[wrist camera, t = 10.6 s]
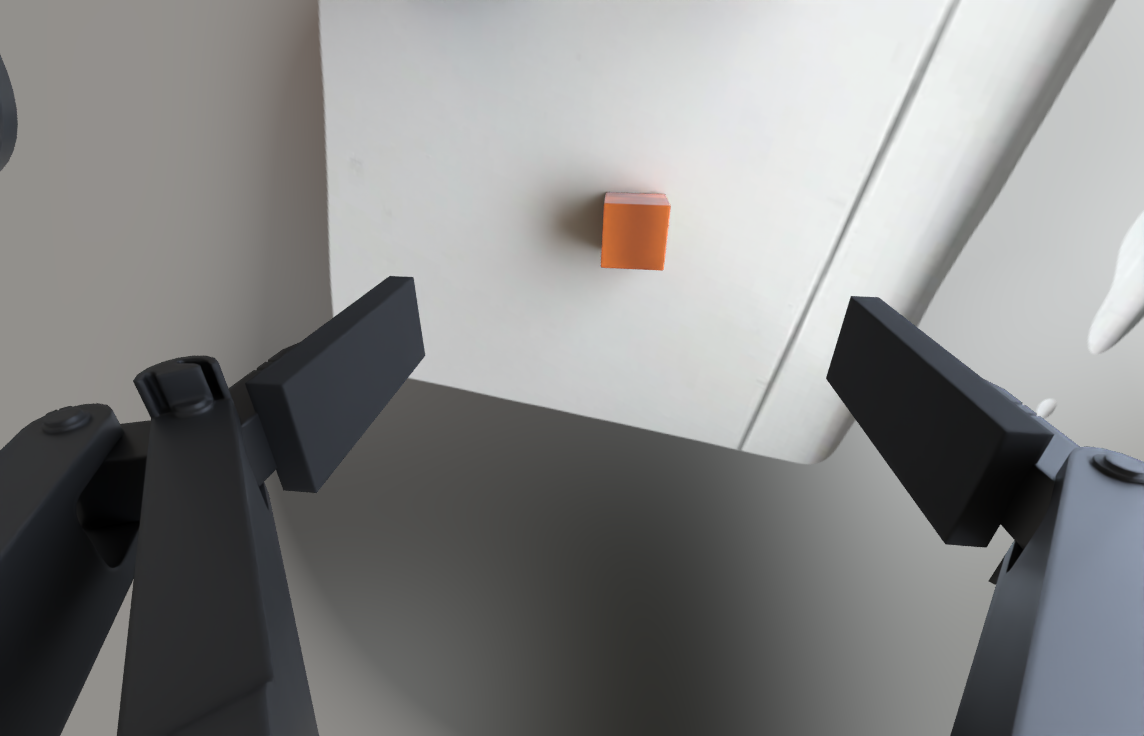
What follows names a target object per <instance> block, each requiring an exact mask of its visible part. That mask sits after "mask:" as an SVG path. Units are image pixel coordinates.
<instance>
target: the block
mask: <svg viewBox="0 0 1144 736" xmlns="http://www.w3.org/2000/svg"><path fill="white" fill-rule="evenodd" d="M670 209H671V206H670V203H669V201H668V199H667V197H666V195H665V194H642V193H614V192H606V195H605V200H604V208H603V229H602V250H601V267H602V268H622V269H643V270H664V262H665V253H666V244H667V235H668V226H669V217H670Z"/></svg>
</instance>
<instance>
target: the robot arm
mask: <svg viewBox="0 0 1144 736" xmlns="http://www.w3.org/2000/svg"><path fill="white" fill-rule="evenodd" d="M424 356H425V351H424V345H423V338H422V332H421V325H420V318H419V312H418V305H417V298H416V292H415V285H414V278H413V277H398V276H389V277H388V278H386V279H385V280H384V281H382V282H381V283H380V284H378V285H377V286H376V287H374V288H373V289H372V290H370V291H369V292H368V293H366V294H365V295H363V296H362V297H361V298H359V299H358V300H357V301H355V302H354V303H353V304H351V305H350V306H349V307H347V308H346V309H344V310H343V311H342V312H340V313H339V314H338V315H336V316H335V317H334V318H332V319H331V320H330V321H328V322H327V323H326V324H324V325H323V326H321V327H320V328H319V329H318V330H316V331H315V332H313V333H312V334H311V335H309V336H308V337H307V338H305V339H304V340H303V341H301V342H300V343H297V344H295V345H292V346H290V347H288V348H286V349H283V350H281V351H280V352H278V353H277V354H276V355H274V356H273V357H271V358H270V359H269V360H268V362H265V363H263V364H262V365H260V366H259V367H258V368H257V370H254V371H252V372H251V373H249V374H248V375H247V376H245V377H244V378H242V379H241V380H240V381H238V382H237V383H235V384H234V385H233V386H231V387H230V388H229V389H228V386H227V384H226V381H225V378H224V376H223V373H222V371H221V368H220V365H219V363H218V361H217V360H216V359H215V358H213V357H209V356H188V357H181V358H176V359H172V360H168V361H165V362H161V363H159V364H156V365H154V366H151V367H149V368H147V369H146V370H144V371H142V372H141V373H139V374H138V375H137V376H136V377H135V379H134V380H133V382H134V384H135V386H136V388H137V390H138V392H139V394H140V396H141V398H142V400H143V402H144V404H145V406H146V408H147V410H148V412H149V415H150V417H151V421H142V422H133V423H125V424H120V423H119V421H118V420H117V418H116V416H115V414H114V412H113V410H112V409H111V408H110V407H109V406H108V405H103V404H98V403H97V404H84V405H79V406H74V407H72V406H68V407H64V408H61V409H59V410H55V411H52V412H49V413H47V414H46V415H45V416H43V417H41V418H39V419H37V420H35V421H33V422H31V423H30V424H29V425H27V426H26V427H25V428H23V429H22V430H21V431H20V432H19V433H18V434H17V435H16V436H15V437H14V438H13V439H12V440H11V441H10V442H9V443H8V444H7V445H6V446H5V447H4V448H2V449H1V450H0V736H60V735H61V733H62V731H63V728H64V726H65V724H66V722H67V720H68V718H69V716H70V713H71V711H72V709H73V707H74V705H75V703H76V701H77V698H78V696H79V694H80V692H81V690H82V688H83V686H84V684H85V681H86V679H87V677H88V675H89V673H90V671H91V669H92V666H93V664H94V662H95V660H96V658H97V656H98V654H99V651H100V649H101V647H102V645H103V643H104V641H105V638H106V637H107V634H108V632H109V630H110V628H111V626H112V624H113V622H114V619H115V617H116V615H117V613H118V611H119V609H120V607H121V605H122V602H123V600H124V598H125V596H126V594H127V592H128V589H129V587H130V585H131V583H132V581H133V579H134V582H133V591H132V600H131V609H130V619H129V628H128V637H127V646H126V656H125V665H124V674H123V684H122V693H121V702H120V711H119V720H118V729H117V736H319V734H318V729H317V724H316V720H315V715H314V709H313V705H312V700H311V695H310V690H309V685H308V680H307V676H306V671H305V666H304V662H303V656H302V652H301V647H300V642H299V637H298V632H297V628H296V623H295V618H294V613H293V608H292V603H291V598H290V594H289V589H288V584H287V580H286V574H285V570H284V565H283V560H282V555H281V550H280V545H279V541H278V536H277V531H276V526H275V522H274V517H273V512H272V507H271V502H270V497H269V494H268V491H267V488H266V486H265V483H264V481H265V480H266V479H267V478H268V477H269V476H270V475H271V474H272V473H273V472H274V471H275V470H277V474H278V476H279V479H280V482H281V485H282V487H283V490H286V491H299V492H312V493H317V492H318V490H319V489H320V488H321V487H322V485H323V484H324V483H325V482H326V480H327V479H328V478H329V476H330V475H331V474H332V473H333V471H334V470H335V469H336V468H337V466H338V465H339V464H340V463H341V461H342V460H343V459H344V457H345V456H346V455H347V453H348V452H349V451H350V450H351V449H352V447H353V446H354V445H355V443H356V442H357V441H358V440H359V439H360V437H361V436H362V435H363V433H364V432H365V431H366V430H367V428H368V427H369V426H370V425H371V423H372V422H373V421H374V420H375V418H376V417H377V416H378V415H379V413H380V412H381V411H382V410H383V408H384V407H385V406H386V404H387V403H388V402H389V401H390V399H391V398H392V397H393V396H394V394H395V393H396V392H397V391H398V389H399V388H400V387H401V386H402V384H403V383H404V382H405V380H406V379H407V378H408V377H409V375H410V374H411V373H412V372H413V370H414V369H415V368H416V367H417V365H418V364H419V363H420V361H421V360H422V359H423V358H424ZM826 379H827V380H828V382H829V383H830V385H831V386H832V387H833V389H834V390H835V392H836V393H837V394H838V396H839V397H840V398H841V400H842V401H843V403H844V404H845V405H846V407H847V408H848V410H849V411H850V412H851V414H852V415H853V417H854V418H855V419H856V421H857V422H858V423H859V425H860V426H861V427H862V429H863V430H864V432H865V433H866V435H867V436H868V437H869V439H870V440H871V442H872V443H873V444H874V446H875V447H876V448H877V450H878V451H879V453H880V454H881V455H882V457H883V458H884V460H885V461H886V462H887V464H888V465H889V467H890V468H891V469H892V471H893V472H894V473H895V475H896V476H897V477H898V479H899V480H900V482H901V483H902V485H903V486H904V487H905V489H906V490H907V492H908V493H909V494H910V496H911V497H912V498H913V500H914V501H915V503H916V504H917V505H918V507H919V508H920V510H921V511H922V512H923V514H924V515H925V517H926V518H927V519H928V521H929V522H930V523H931V525H932V526H933V527H934V529H935V530H936V532H937V533H938V535H939V536H940V537H941V539H942V540H943V541H944V543H945V544H949V545H961V546H974V547H987V546H988V544H989V542H990V541H991V539H992V537H993V536H994V534H995V532H996V531H997V529H998V527H999V525H1000V524H1001V525H1002V526H1003V527H1004V528H1005V530H1006V531H1007V532H1008V533H1009V534H1010V535H1011V536H1012V537H1013V539H1014V542H1013V543H1012V545H1011V547H1010V548H1009V550H1008V551H1007V553H1006V555H1005V556H1004V558H1003V559H1002V561H1001V563H1000V564H999V565H998V567H997V569H996V570H995V572H994V573H993V575H992V577H991V578H990V580H989V582H991V583H993V584H996V587H995V590H994V594H993V597H992V601H991V604H990V607H989V610H988V614H987V617H986V620H985V623H984V627H983V630H982V633H981V637H980V640H979V643H978V647H977V650H976V653H975V656H974V660H973V663H972V666H971V670H970V673H969V676H968V679H967V683H966V686H965V689H964V693H963V696H962V699H961V703H960V706H959V709H958V713H957V716H956V719H955V722H954V726H953V729H952V732H951V736H1144V462H1143V461H1140V460H1138V459H1135V458H1133V457H1130V456H1128V455H1125V454H1123V453H1119V452H1115V451H1111V450H1108V449H1104V448H1095V447H1088V446H1086V447H1080V446H1078V445H1077V444H1076V443H1074V442H1073V441H1072V440H1071V439H1069V438H1068V437H1067V436H1065V435H1064V434H1063V433H1061V432H1060V431H1059V430H1057V429H1056V428H1055V427H1054V426H1052V425H1051V424H1050V423H1048V422H1047V421H1046V420H1044V419H1043V418H1042V417H1040V416H1036V413H1035V412H1034V411H1033V410H1031V409H1030V408H1029V407H1027V406H1026V405H1022V402H1021V401H1019V400H1018V399H1017V398H1015V397H1014V396H1013V395H1012V394H1010V393H1009V392H1008V391H1006V390H1005V389H1003V388H1001V387H999V386H997V385H995V384H993V383H991V382H988V381H987V380H984V379H983V378H981V377H980V376H979V375H978V374H976V373H975V372H974V371H972V370H971V369H970V368H969V367H967V366H966V365H965V364H963V363H962V362H961V361H959V360H958V359H957V358H956V357H954V356H953V355H952V354H951V353H949V352H948V351H947V350H945V349H944V348H943V347H942V346H940V345H939V344H938V343H936V342H935V341H934V340H933V339H931V338H930V337H929V336H927V335H926V334H925V333H924V332H922V331H921V330H920V329H918V328H917V327H916V326H915V325H913V324H912V323H911V322H909V321H908V320H907V319H906V318H904V317H903V316H902V315H900V314H899V313H898V312H897V311H895V310H894V309H893V308H891V307H890V306H889V305H888V304H886V303H885V302H884V301H882V300H881V299H880V298H879V297H857V296H851V298H850V301H849V304H848V308H847V311H846V314H845V318H844V321H843V324H842V328H841V331H840V334H839V337H838V341H837V344H836V347H835V351H834V354H833V357H832V360H831V364H830V367H829V370H828V374H827V377H826Z"/></svg>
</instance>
